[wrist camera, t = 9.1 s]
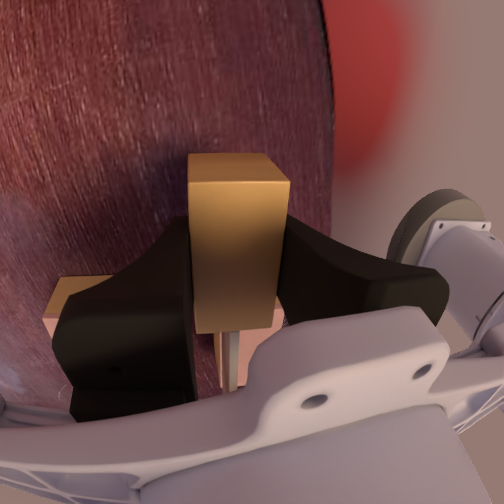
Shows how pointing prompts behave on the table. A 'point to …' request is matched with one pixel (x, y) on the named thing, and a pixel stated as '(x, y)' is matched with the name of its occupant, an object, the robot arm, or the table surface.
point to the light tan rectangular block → (248, 344)
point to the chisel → (235, 246)
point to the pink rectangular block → (61, 294)
